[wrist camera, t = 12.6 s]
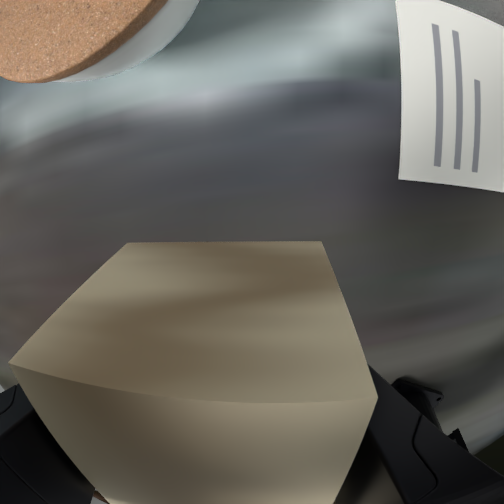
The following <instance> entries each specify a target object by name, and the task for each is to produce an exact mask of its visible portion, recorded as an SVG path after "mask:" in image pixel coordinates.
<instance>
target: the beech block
mask: <svg viewBox="0 0 504 504" xmlns="http://www.w3.org/2000/svg"><path fill="white" fill-rule="evenodd" d="M8 364H9V366H10V368H11V369H12V371H13V373H14V375H15V377H16V379H17V380H18V382H19V384H20V386H21V387H22V389H23V391H24V393H25V394H26V396H27V398H28V399H29V401H30V402H31V404H32V406H33V407H34V409H35V410H36V412H37V413H38V415H39V417H40V418H41V420H42V421H43V423H44V424H45V425H46V427H47V428H48V430H49V431H50V433H51V434H52V435H53V437H54V438H55V440H56V441H57V442H58V444H59V445H60V446H61V448H62V449H63V450H64V452H65V453H66V454H67V455H68V457H69V458H70V459H71V460H72V462H73V463H74V464H75V465H76V466H77V468H78V469H79V470H80V471H81V472H82V474H83V475H84V476H85V477H86V478H87V479H88V480H89V482H90V483H91V484H92V485H93V486H94V487H95V488H96V489H97V490H98V491H99V493H100V494H101V495H102V496H103V497H104V498H105V499H106V500H107V501H108V502H109V503H110V504H333V502H334V500H335V498H336V496H337V494H338V492H339V490H340V488H341V486H342V484H343V482H344V480H345V478H346V476H347V474H348V471H349V469H350V467H351V465H352V463H353V460H354V458H355V456H356V453H357V451H358V449H359V446H360V444H361V442H362V439H363V437H364V434H365V432H366V429H367V426H368V424H369V421H370V419H371V416H372V413H373V410H374V408H375V405H376V402H377V399H378V396H377V392H376V389H375V386H374V383H373V380H372V377H371V374H370V371H369V368H368V365H367V362H366V359H365V356H364V353H363V350H362V347H361V344H360V342H359V339H358V336H357V333H356V330H355V328H354V325H353V322H352V319H351V317H350V314H349V311H348V308H347V306H346V303H345V300H344V298H343V295H342V293H341V290H340V287H339V285H338V282H337V280H336V277H335V275H334V272H333V269H332V267H331V264H330V262H329V259H328V257H327V254H326V252H325V250H324V247H323V245H322V242H321V241H272V242H157V243H127V244H126V245H125V246H124V247H122V248H121V249H120V250H119V251H118V252H117V253H116V254H115V255H114V256H112V257H111V258H110V259H109V260H108V261H107V262H106V263H105V264H104V265H103V266H102V267H101V268H99V269H98V270H97V271H96V272H95V273H94V274H93V275H92V276H91V277H90V278H89V279H88V280H87V281H86V282H85V283H84V284H83V285H82V286H81V287H80V288H78V289H77V290H76V291H75V292H74V293H73V294H72V295H71V296H70V297H69V298H68V299H67V300H66V301H65V302H64V303H63V304H62V305H61V306H60V307H59V308H58V309H57V310H56V311H55V312H54V314H53V315H52V316H51V317H50V318H49V319H48V320H47V321H46V322H45V323H44V324H43V325H42V326H41V327H40V328H39V329H38V330H37V331H36V332H35V333H34V335H33V336H32V337H31V338H30V339H29V340H28V341H27V342H26V343H25V344H24V345H23V347H22V348H21V349H20V350H19V351H18V352H17V353H16V354H15V356H14V357H13V358H12V359H11V360H10V361H9V362H8Z"/></svg>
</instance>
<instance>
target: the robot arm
mask: <svg viewBox="0 0 504 504" xmlns="http://www.w3.org/2000/svg"><path fill="white" fill-rule="evenodd" d="M367 365H368V364H367ZM368 368H369V371H370V374H371V377H372V380H373V383H374V386H375V389H376V392H377V396H378V399H377V402H376V405H375V408H374V410H373V413H372V416H371V419H370V421H369V424H368V426H367V429H366V432H365V434H364V437H363V439H362V442H361V444H360V446H359V449H358V451H357V453H356V456H355V458H354V460H353V463H352V465H351V467H350V469H349V471H348V474H347V476H346V478H345V480H344V482H343V484H342V486H341V488H340V490H339V492H338V494H337V496H336V504H504V476H502V475H501V474H499V473H498V472H496V471H495V470H493V469H492V468H490V467H489V466H488V465H486V464H485V463H483V462H482V461H480V460H479V459H478V458H476V457H475V456H473V455H472V454H471V453H469V451H468V449H467V447H466V444H465V442H464V440H463V438H462V435H461V433H460V431H459V429H458V428H457V429H456V430H454V431H453V433H451V434H450V435H448V436H447V435H445V434H444V433H443V431H442V429H441V426H440V424H439V422H438V419H437V417H436V415H435V412H434V410H433V408H434V407H435V406H436V405H437V404H438V403H439V402H441V401H442V399H443V398H444V396H443V394H442V393H441V392H438V391H435V390H432V389H428V388H425V387H422V386H419V385H416V384H413V383H410V382H407V381H404V380H397V381H395V382H394V383H393V384H392V385H390V384H389V383H388V382H387V381H386V380H385V379H383V378H382V377H381V376H380V375H379V374H378V373H377V372H376V371H375V370H374V369H373V368H372V367H370V366H369V365H368ZM94 490H95V487H94V486H93V485H92V484H91V483H90V482H89V480H88V479H87V478H86V477H85V476H84V475H83V474H82V472H81V471H80V470H79V469H78V468H77V466H76V465H75V464H74V463H73V462H72V460H71V459H70V458H69V457H68V455H67V454H66V453H65V452H64V450H63V449H62V448H61V446H60V445H59V444H58V442H57V441H56V440H55V438H54V437H53V435H52V434H51V433H50V431H49V430H48V428H47V427H46V425H45V424H44V423H43V421H42V420H41V418H40V417H39V415H38V413H37V412H36V410H35V409H34V407H33V406H32V404H31V402H30V401H29V399H28V398H27V396H26V394H25V393H24V391H23V389H22V387H21V386H20V384H19V383H18V384H17V385H14V386H12V387H11V388H9V389H7V390H5V391H4V392H2V393H0V504H90V503H91V500H92V497H93V494H94Z"/></svg>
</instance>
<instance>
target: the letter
mask: <svg viewBox="0 0 504 504" xmlns="http://www.w3.org/2000/svg"><path fill="white" fill-rule="evenodd" d="M395 3H396V11H397V21H398V31H399V44H400V61H401V144H400V162H399V176H398V179H401V180H412V181H422V182H431V183H440V184H448V185H456V186H464V187H471V188H479V189H485V190H492V191H498V192H504V27H503V26H501V25H499V24H497V23H495V22H493V21H490V20H488V19H486V18H484V17H481V16H479V15H477V14H474V13H472V12H469V11H467V10H464V9H462V8H459V7H457V6H454V5H451V4H448V3H445V2H443V1H440V0H395Z"/></svg>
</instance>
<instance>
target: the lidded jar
mask: <svg viewBox="0 0 504 504" xmlns="http://www.w3.org/2000/svg"><path fill="white" fill-rule="evenodd" d="M198 3H199V0H0V76H1V77H3V78H5V79H7V80H10V81H15V82H20V83H46V82H81V81H89V80H96V79H101V78H105V77H109V76H112V75H116V74H119V73H122V72H124V71H126V70H129V69H131V68H133V67H135V66H137V65H139V64H140V63H142V62H144V61H146V60H148V59H149V58H151V57H152V56H154V55H155V54H157V53H158V52H159V51H161V50H162V49H163V48H164V47H165V46H167V45H168V44H169V43H170V42H171V41H172V40H173V39H174V38H175V37H176V36H177V35H178V34H179V33H180V31H181V30H182V29H183V28H184V26H185V25H186V24H187V22H188V21H189V19H190V18H191V16H192V14H193V12H194V10H195V8H196V7H197V5H198Z"/></svg>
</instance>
